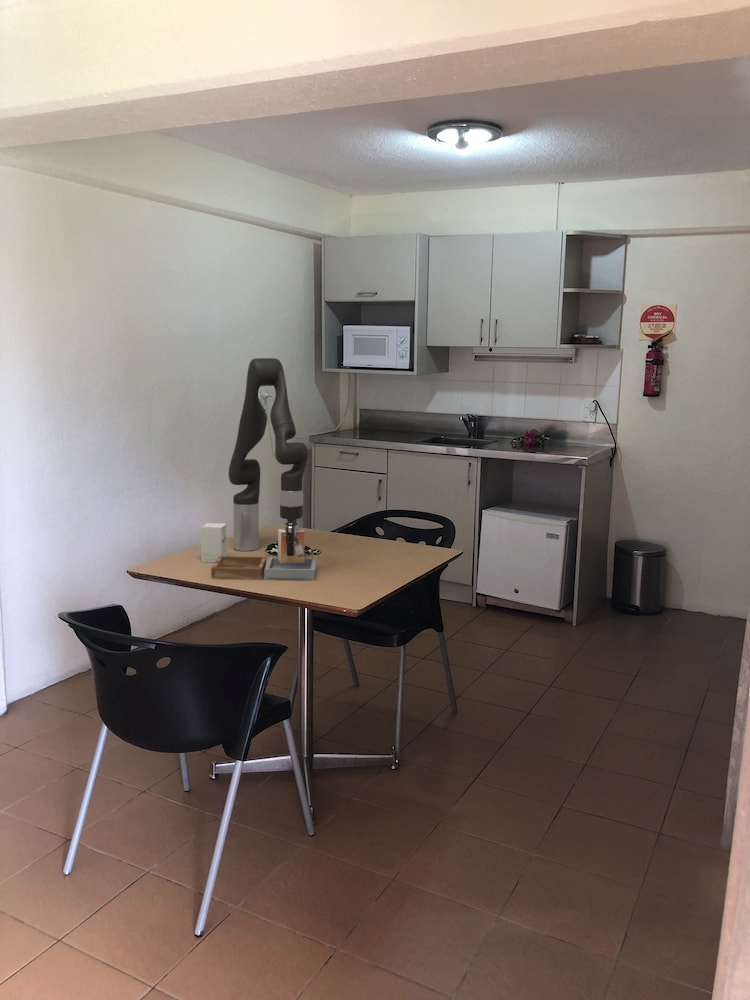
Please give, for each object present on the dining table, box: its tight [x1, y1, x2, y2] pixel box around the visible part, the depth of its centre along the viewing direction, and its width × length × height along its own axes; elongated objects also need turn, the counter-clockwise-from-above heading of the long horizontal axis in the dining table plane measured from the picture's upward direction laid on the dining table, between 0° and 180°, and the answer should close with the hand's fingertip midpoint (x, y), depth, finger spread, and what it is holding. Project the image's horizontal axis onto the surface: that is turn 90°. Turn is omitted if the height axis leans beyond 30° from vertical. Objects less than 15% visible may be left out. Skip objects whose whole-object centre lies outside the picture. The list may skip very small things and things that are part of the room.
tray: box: [263, 556, 317, 581], centre depth 274 cm, size 16×16×4 cm
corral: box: [210, 555, 267, 581], centre depth 274 cm, size 16×16×4 cm
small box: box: [277, 527, 305, 563], centre depth 273 cm, size 8×6×10 cm
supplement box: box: [200, 522, 227, 564], centre depth 288 cm, size 7×7×13 cm
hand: (291, 553), depth 273 cm, fingers closed on small box, 6 cm apart
